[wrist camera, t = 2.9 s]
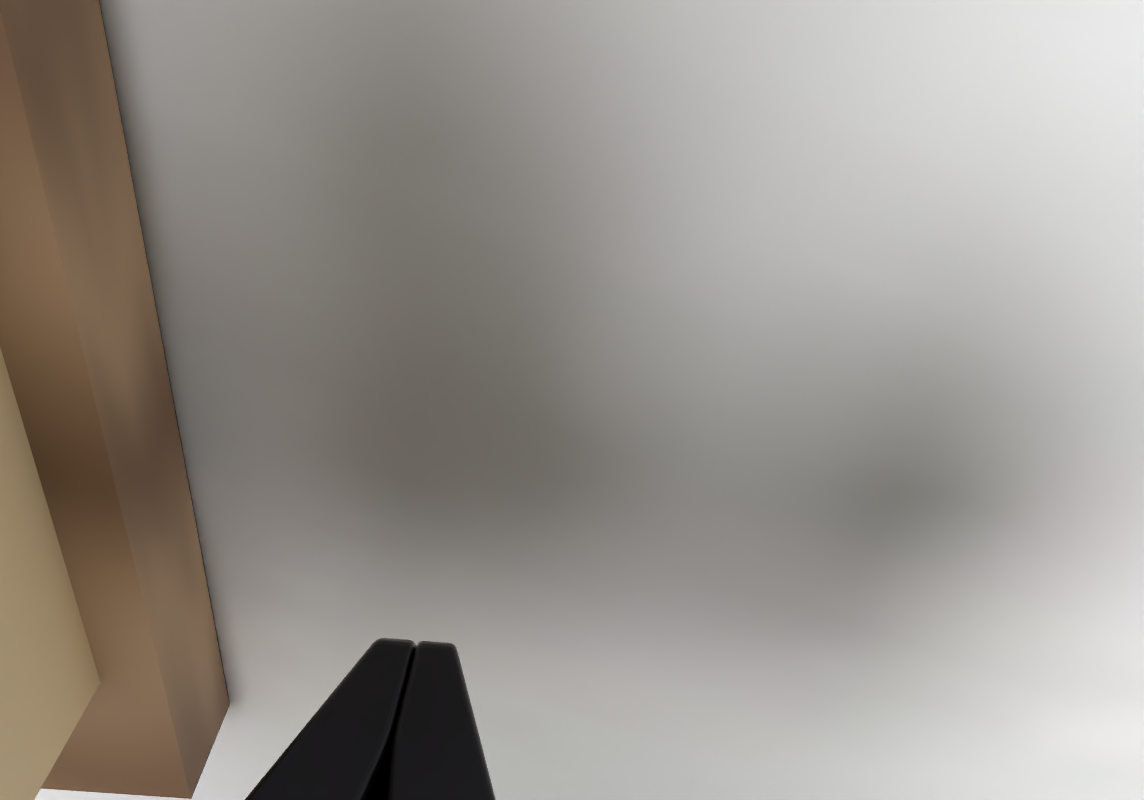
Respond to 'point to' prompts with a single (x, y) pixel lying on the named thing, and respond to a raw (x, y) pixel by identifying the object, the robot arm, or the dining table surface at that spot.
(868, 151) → the dining table surface
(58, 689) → the carton
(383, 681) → the robot arm
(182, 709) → the podium
